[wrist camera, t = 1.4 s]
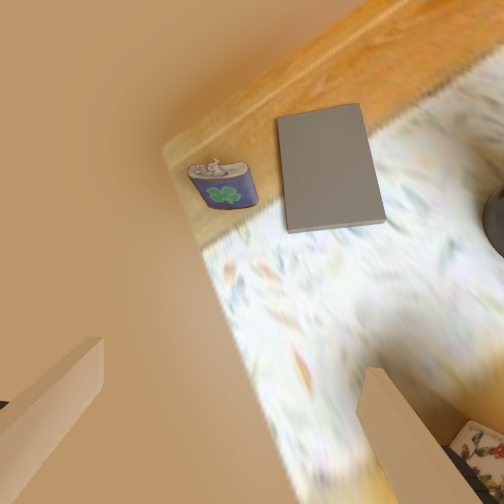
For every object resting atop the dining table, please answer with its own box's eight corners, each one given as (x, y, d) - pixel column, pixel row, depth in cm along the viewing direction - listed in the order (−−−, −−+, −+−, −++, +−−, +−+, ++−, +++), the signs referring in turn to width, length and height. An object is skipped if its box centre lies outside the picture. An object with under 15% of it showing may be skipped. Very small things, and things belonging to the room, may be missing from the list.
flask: (259, 193, 44) (246, 151, 34) (258, 209, 43) (244, 170, 33) (208, 195, 46) (181, 156, 36) (206, 210, 45) (177, 174, 35)
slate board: (357, 109, 45) (358, 102, 44) (383, 223, 38) (386, 218, 37) (278, 124, 48) (277, 117, 46) (288, 233, 40) (288, 229, 39)
